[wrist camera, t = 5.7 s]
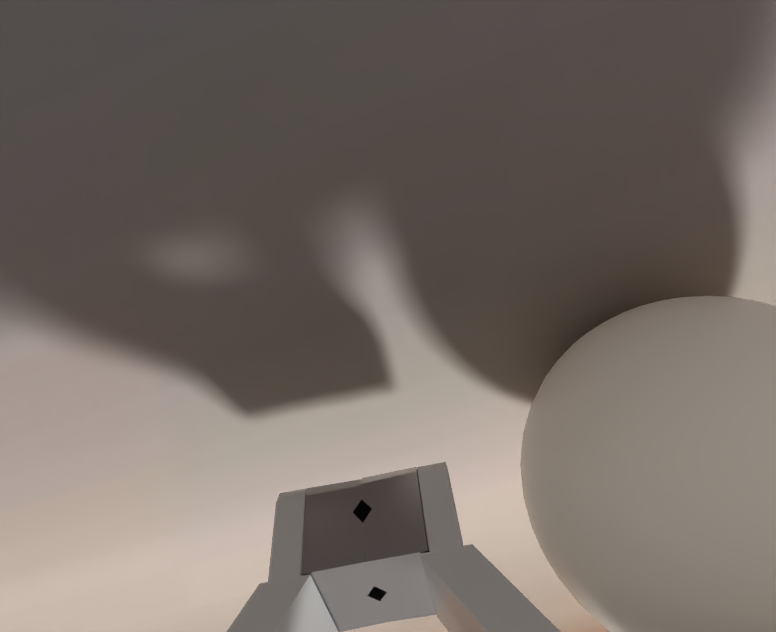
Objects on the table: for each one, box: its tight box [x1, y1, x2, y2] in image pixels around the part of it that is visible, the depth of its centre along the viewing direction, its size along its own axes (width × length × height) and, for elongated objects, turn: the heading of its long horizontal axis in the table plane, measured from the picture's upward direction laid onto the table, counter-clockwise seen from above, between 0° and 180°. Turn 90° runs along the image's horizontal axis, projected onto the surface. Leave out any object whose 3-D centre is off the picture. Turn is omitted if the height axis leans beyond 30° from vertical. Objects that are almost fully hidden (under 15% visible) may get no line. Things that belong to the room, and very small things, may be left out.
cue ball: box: [520, 296, 776, 632], centre depth 9 cm, size 6×6×6 cm
